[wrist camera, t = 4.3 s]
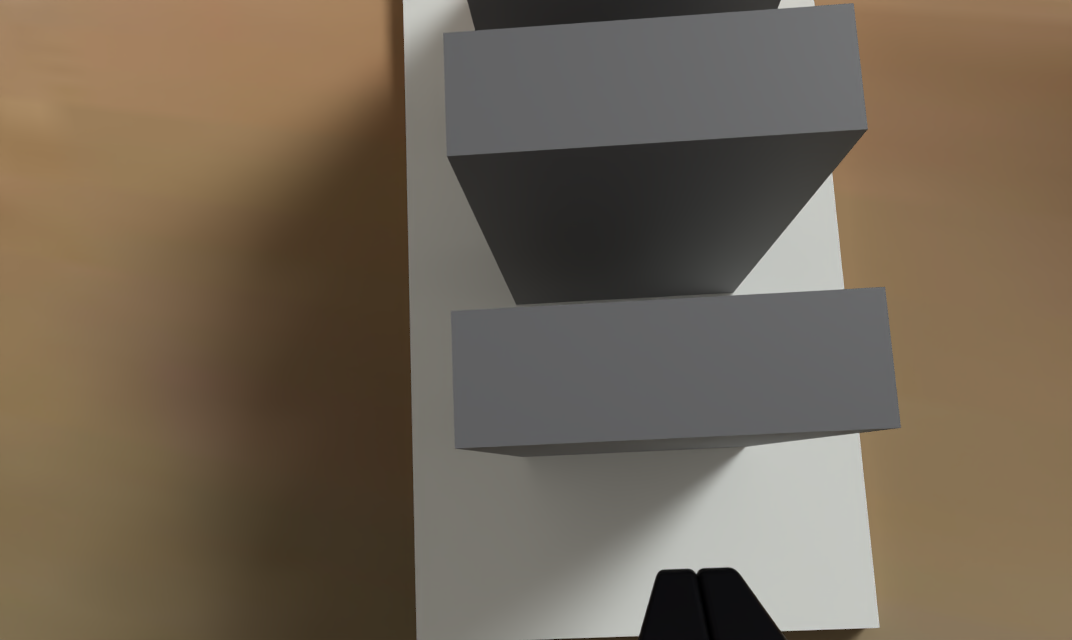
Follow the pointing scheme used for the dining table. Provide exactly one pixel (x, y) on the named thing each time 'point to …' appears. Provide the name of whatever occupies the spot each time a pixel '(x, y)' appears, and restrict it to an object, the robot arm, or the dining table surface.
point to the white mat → (607, 478)
